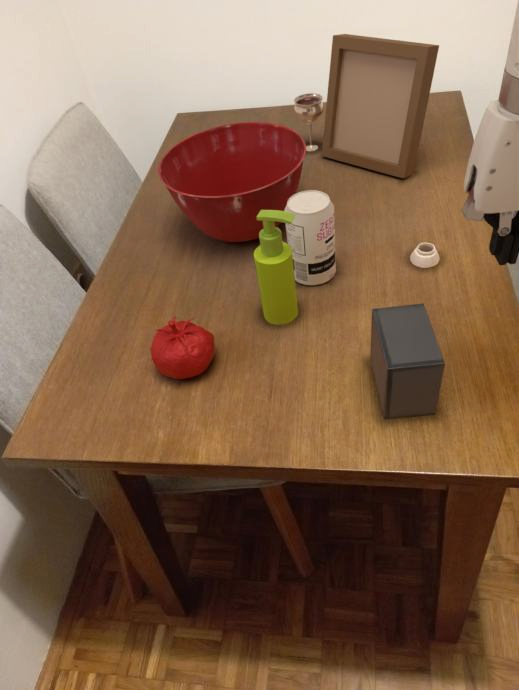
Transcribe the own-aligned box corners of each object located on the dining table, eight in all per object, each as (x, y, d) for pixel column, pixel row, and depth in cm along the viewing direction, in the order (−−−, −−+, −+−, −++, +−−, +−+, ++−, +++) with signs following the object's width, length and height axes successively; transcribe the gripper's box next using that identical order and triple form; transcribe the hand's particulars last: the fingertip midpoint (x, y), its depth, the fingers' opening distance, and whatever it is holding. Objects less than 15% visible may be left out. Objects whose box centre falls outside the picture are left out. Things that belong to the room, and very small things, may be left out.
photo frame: (403, 182, 113) (412, 57, 95) (321, 159, 125) (316, 44, 107) (437, 152, 120) (452, 31, 102) (357, 133, 131) (358, 21, 113)
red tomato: (210, 389, 80) (197, 348, 74) (149, 385, 82) (131, 345, 76) (224, 342, 87) (214, 300, 80) (168, 340, 89) (153, 299, 82)
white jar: (405, 256, 96) (418, 272, 93) (406, 243, 94) (419, 259, 90) (430, 249, 96) (444, 265, 93) (432, 236, 94) (446, 251, 91)
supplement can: (294, 259, 100) (287, 188, 89) (338, 260, 98) (336, 188, 87) (287, 287, 94) (279, 215, 84) (333, 289, 92) (331, 215, 82)
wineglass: (292, 153, 129) (287, 103, 120) (306, 140, 132) (303, 91, 124) (316, 157, 126) (313, 107, 117) (330, 145, 129) (328, 95, 120)
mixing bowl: (184, 280, 100) (163, 209, 88) (171, 204, 119) (152, 138, 108) (327, 247, 101) (324, 173, 90) (291, 177, 121) (285, 109, 110)
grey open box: (416, 356, 79) (423, 303, 72) (435, 416, 72) (445, 363, 64) (370, 361, 80) (371, 308, 72) (383, 420, 72) (387, 369, 65)
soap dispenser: (298, 329, 87) (287, 227, 72) (259, 323, 89) (241, 222, 75) (308, 306, 90) (299, 204, 76) (270, 300, 93) (255, 200, 78)
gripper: (614, 62, 48) (557, 230, 61) (448, 85, 49) (427, 245, 63) (658, 94, 43) (586, 270, 56) (472, 119, 44) (444, 286, 57)
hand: (503, 257), depth 59 cm, fingers closed
